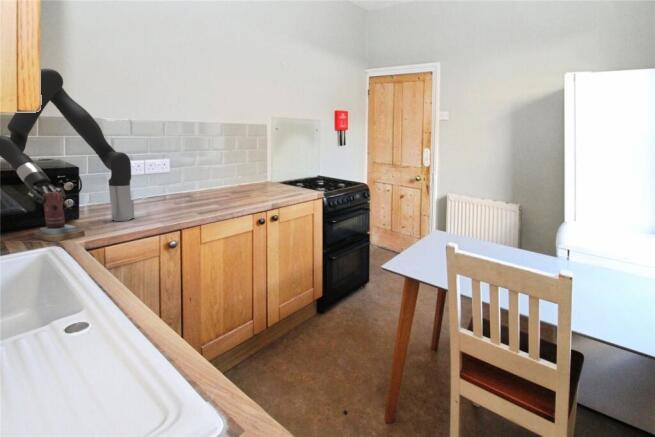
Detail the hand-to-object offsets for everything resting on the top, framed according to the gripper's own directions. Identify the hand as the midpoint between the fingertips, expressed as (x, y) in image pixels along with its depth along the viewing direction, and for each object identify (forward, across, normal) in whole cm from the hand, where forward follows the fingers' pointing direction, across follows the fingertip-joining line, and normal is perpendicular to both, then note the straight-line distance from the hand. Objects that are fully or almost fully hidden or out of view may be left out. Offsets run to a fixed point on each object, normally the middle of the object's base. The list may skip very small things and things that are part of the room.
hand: (60, 208), depth 148 cm
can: (+3, 0, +8) cm, 8 cm away
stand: (+7, 0, +10) cm, 12 cm away
